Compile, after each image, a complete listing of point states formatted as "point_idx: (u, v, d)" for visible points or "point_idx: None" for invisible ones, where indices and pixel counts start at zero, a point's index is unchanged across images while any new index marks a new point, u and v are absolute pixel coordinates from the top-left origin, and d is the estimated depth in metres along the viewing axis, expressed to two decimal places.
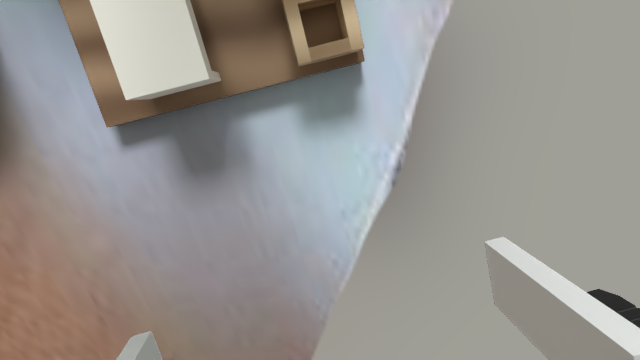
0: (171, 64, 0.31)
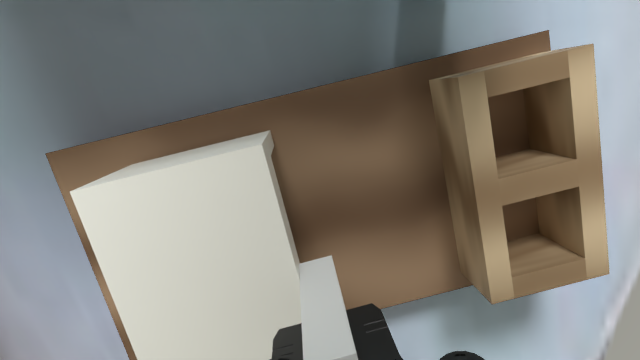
0: (253, 355, 0.16)
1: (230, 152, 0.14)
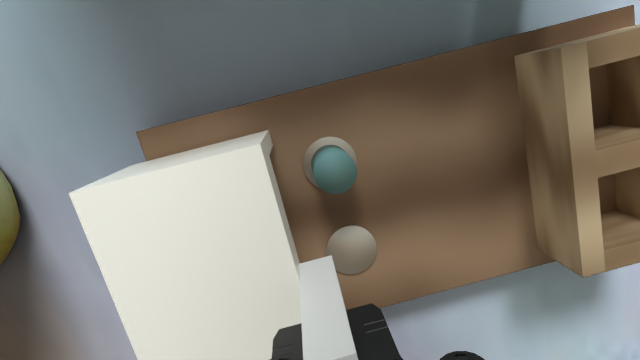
0: (254, 354, 0.16)
1: (228, 152, 0.14)
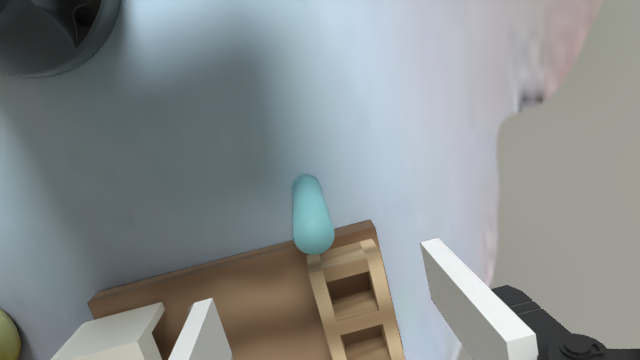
0: None
1: (122, 345, 0.28)
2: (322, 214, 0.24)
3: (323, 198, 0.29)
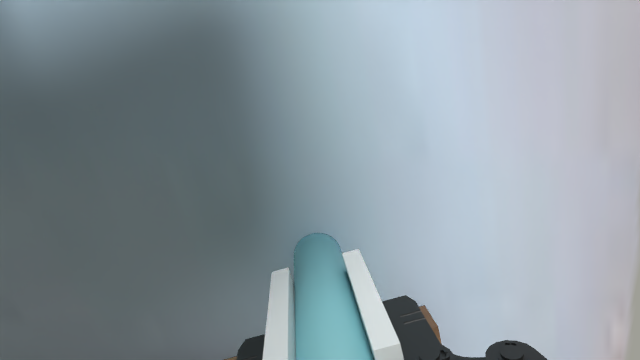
0: None
1: None
2: None
3: None
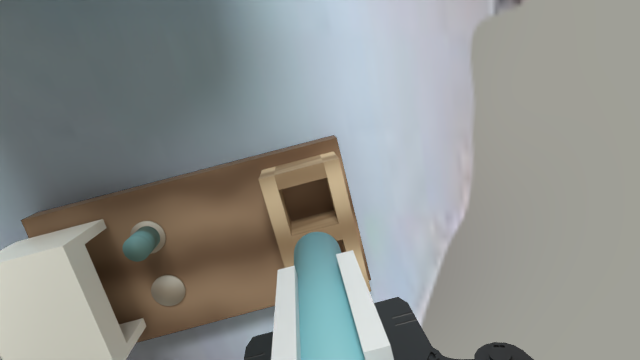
0: None
1: (45, 250, 0.25)
2: None
3: None
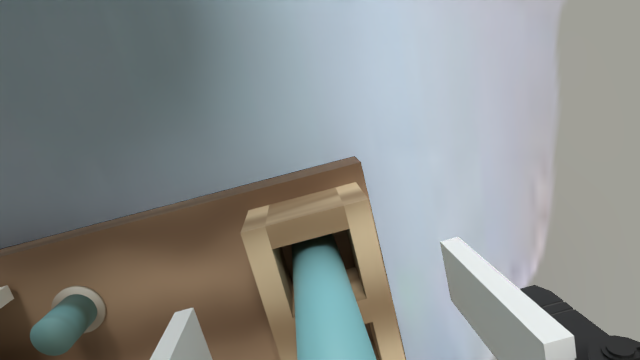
0: None
1: None
2: None
3: (351, 289, 0.16)
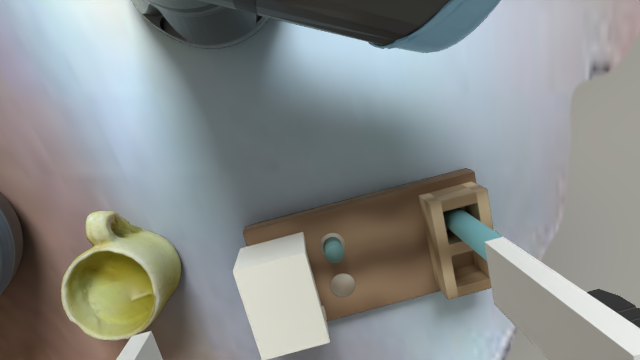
0: (300, 333, 0.38)
1: (292, 255, 0.36)
2: None
3: None
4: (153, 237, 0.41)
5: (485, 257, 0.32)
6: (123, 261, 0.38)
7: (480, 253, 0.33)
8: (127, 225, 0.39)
